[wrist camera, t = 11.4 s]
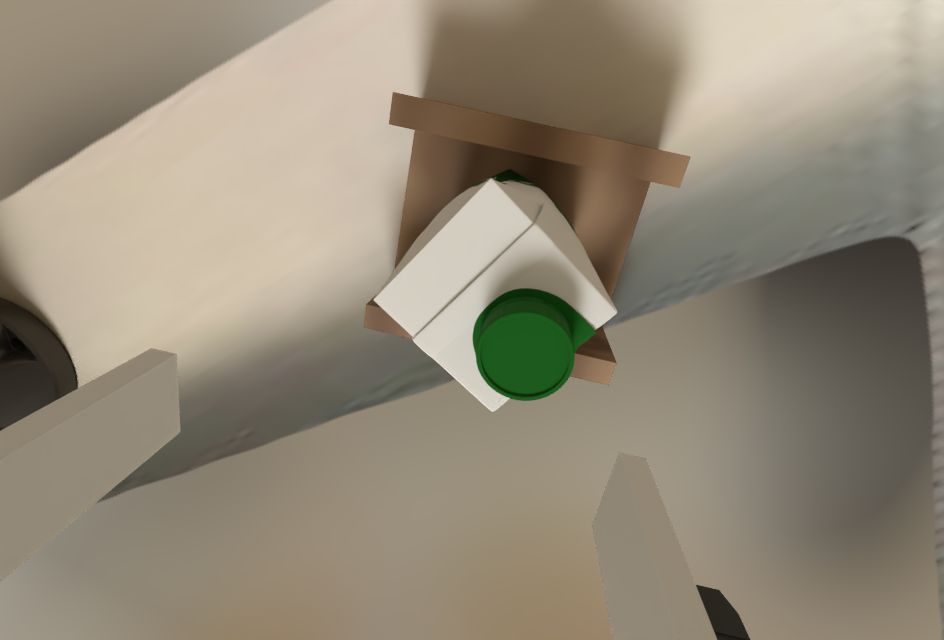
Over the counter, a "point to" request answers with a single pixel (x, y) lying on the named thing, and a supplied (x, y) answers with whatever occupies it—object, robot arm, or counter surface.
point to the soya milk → (499, 291)
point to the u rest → (550, 168)
